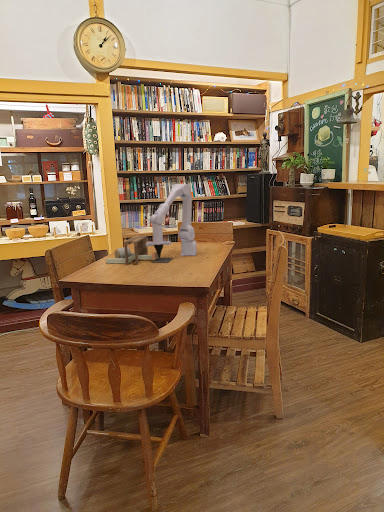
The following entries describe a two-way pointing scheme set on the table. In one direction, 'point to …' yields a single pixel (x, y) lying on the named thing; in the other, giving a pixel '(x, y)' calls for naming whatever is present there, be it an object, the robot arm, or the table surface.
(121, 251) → the ceramic mug
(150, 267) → the table surface
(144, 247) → the arch
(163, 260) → the pit
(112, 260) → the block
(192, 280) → the table surface
